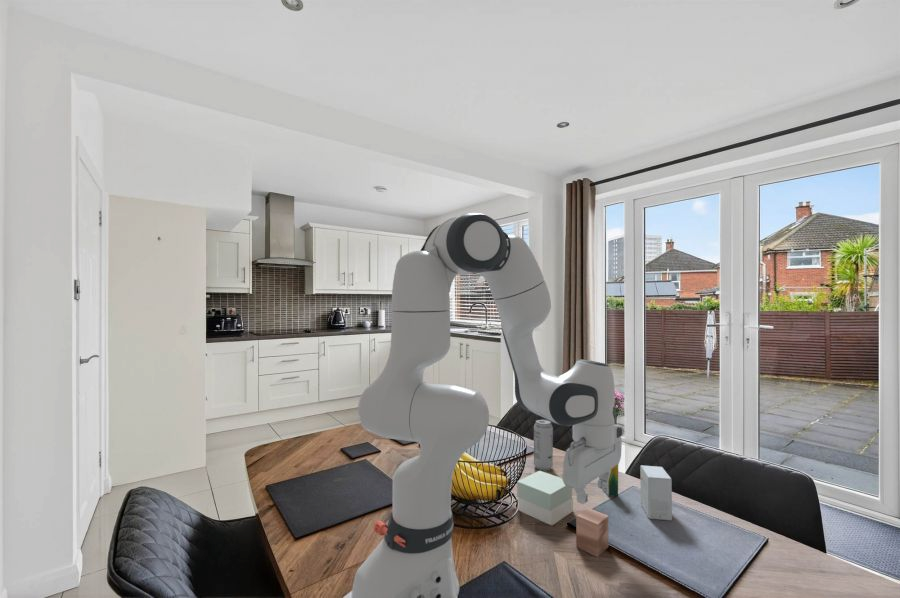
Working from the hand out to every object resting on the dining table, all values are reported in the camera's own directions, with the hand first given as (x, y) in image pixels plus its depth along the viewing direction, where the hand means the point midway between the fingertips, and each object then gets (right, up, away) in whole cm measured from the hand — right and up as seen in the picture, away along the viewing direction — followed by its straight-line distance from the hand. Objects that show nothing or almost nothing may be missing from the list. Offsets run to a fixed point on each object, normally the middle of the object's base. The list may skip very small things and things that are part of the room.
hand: (592, 494), depth 92 cm
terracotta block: (0, -12, 0) cm, 12 cm away
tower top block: (-7, -8, +16) cm, 19 cm away
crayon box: (+14, -12, +27) cm, 33 cm away
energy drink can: (-1, -12, +43) cm, 45 cm away
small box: (+21, -12, +15) cm, 29 cm away
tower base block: (-7, -12, +16) cm, 21 cm away
